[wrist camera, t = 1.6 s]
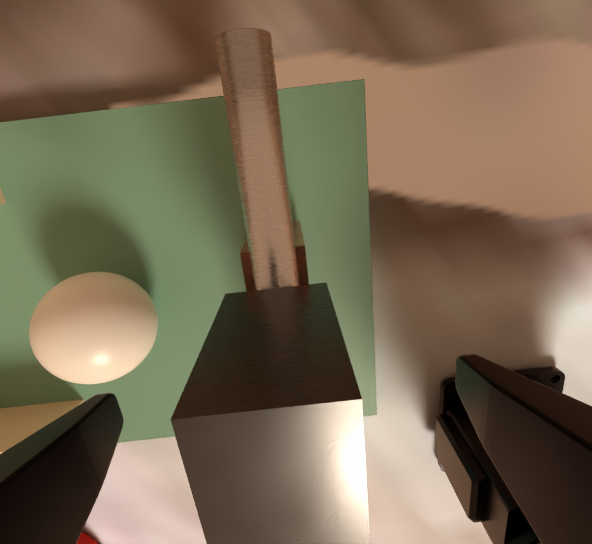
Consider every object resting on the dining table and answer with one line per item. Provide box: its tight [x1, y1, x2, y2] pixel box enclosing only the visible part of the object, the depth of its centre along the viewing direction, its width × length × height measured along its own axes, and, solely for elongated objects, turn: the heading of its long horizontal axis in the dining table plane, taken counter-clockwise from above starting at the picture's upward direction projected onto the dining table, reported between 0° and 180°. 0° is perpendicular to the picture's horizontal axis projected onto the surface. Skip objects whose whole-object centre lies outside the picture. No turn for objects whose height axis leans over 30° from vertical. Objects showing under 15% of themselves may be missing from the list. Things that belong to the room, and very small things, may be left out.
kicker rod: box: [171, 28, 370, 544], centre depth 10 cm, size 3×17×10 cm, turn 6°
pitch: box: [0, 79, 377, 454], centre depth 15 cm, size 22×16×4 cm
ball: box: [29, 272, 158, 384], centre depth 14 cm, size 4×4×4 cm
